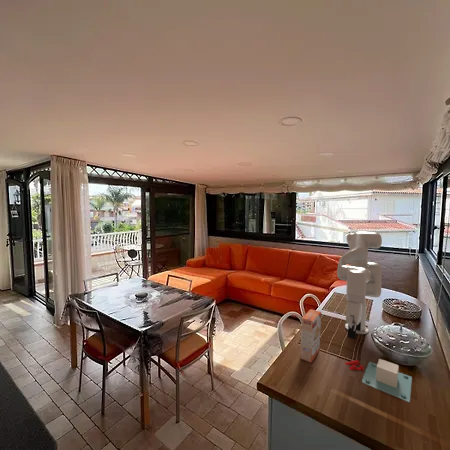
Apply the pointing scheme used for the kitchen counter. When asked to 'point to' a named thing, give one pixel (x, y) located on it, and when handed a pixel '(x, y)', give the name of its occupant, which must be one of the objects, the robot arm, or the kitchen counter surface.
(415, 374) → the kitchen counter surface
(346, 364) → the bracket
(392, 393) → the baseplate
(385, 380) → the base block
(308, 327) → the cracker box
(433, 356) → the kitchen counter surface
